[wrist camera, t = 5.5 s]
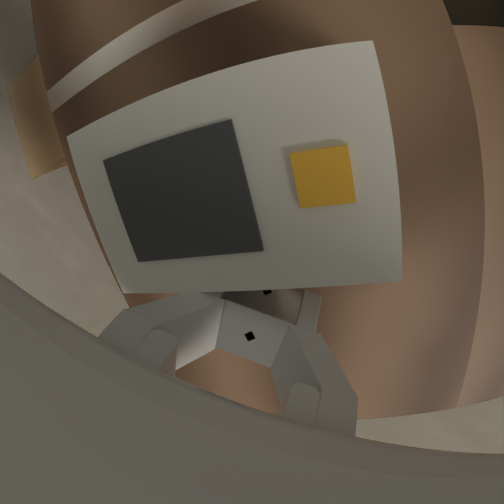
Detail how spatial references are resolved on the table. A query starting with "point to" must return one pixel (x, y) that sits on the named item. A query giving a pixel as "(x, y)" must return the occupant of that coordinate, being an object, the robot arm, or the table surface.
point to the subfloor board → (407, 160)
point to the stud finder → (250, 178)
